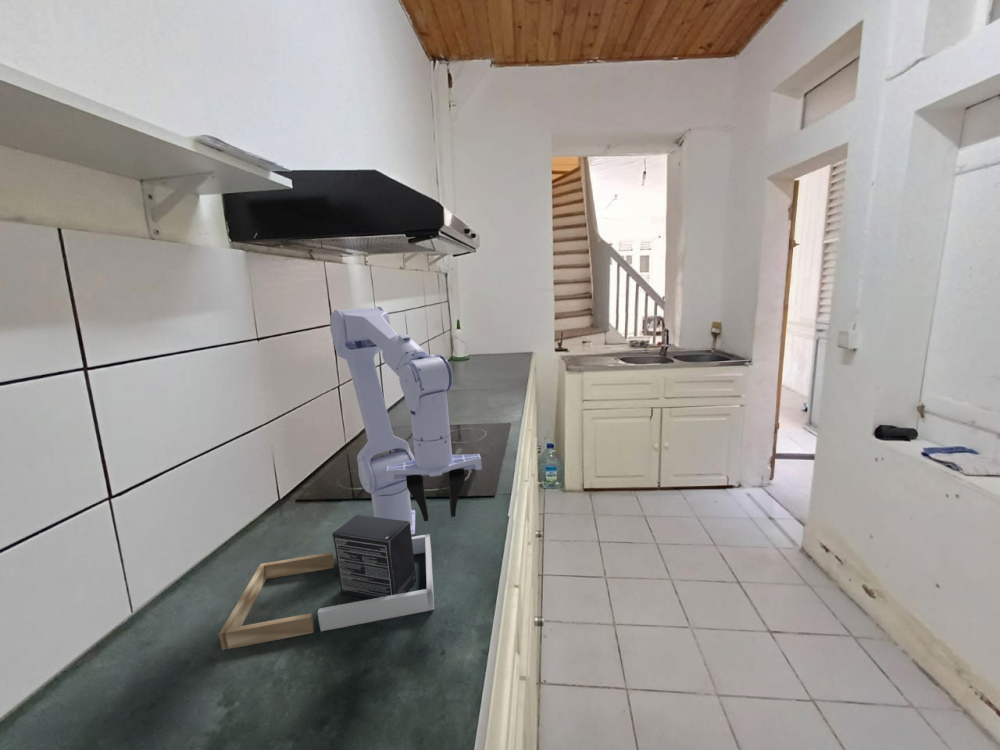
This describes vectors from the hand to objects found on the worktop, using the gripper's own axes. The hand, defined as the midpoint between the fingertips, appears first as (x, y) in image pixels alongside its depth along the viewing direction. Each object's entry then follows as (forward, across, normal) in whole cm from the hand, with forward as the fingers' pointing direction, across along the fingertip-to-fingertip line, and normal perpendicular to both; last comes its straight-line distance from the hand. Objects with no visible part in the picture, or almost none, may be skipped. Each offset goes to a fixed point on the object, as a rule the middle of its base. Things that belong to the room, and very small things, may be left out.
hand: (439, 515), depth 68 cm
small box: (+11, -10, 0) cm, 15 cm away
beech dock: (+10, -24, 0) cm, 27 cm away
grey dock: (+10, -10, 0) cm, 14 cm away
